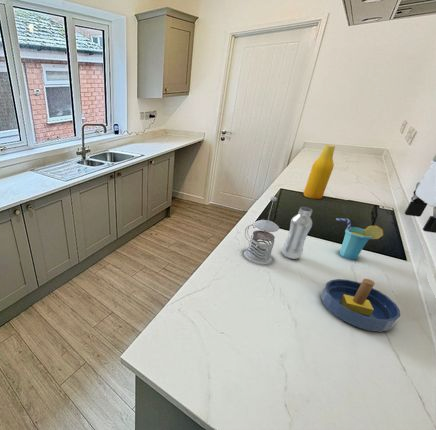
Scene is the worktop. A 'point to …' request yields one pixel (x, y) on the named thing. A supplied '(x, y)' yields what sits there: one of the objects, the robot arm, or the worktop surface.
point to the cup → (357, 239)
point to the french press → (259, 252)
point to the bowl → (378, 321)
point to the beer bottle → (320, 174)
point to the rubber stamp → (360, 299)
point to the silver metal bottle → (297, 233)
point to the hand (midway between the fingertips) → (421, 223)
